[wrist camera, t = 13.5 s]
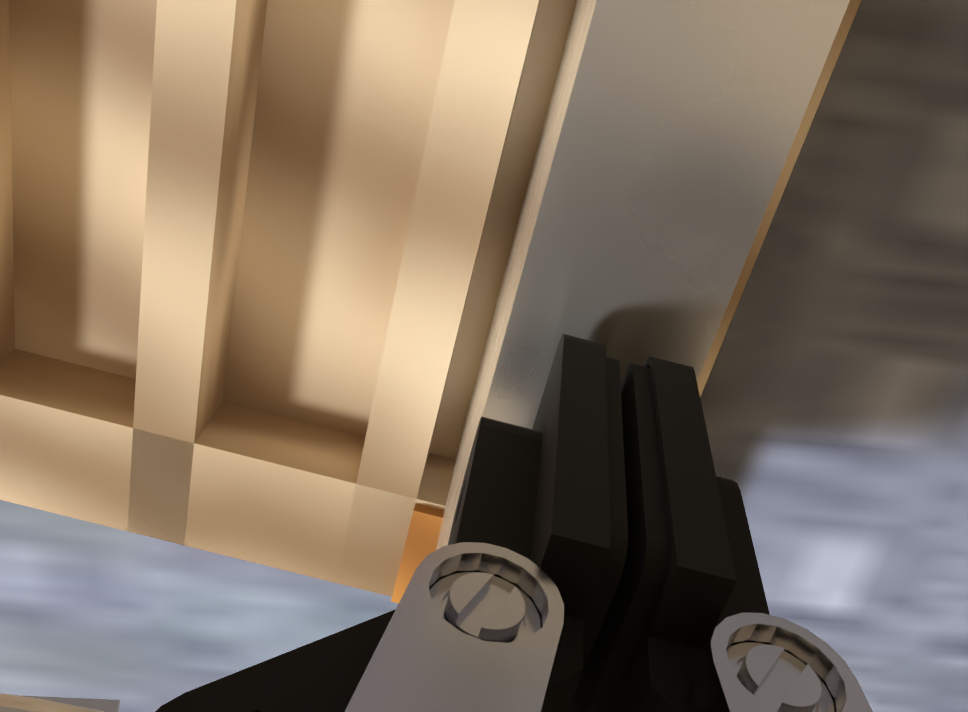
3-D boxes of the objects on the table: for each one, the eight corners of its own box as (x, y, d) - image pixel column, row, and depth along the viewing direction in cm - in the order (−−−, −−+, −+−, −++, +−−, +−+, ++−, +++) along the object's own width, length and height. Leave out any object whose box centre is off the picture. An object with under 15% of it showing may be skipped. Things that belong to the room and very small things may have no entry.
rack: (-56, -637, 16) (-201, -749, 13) (955, -362, 16) (1034, -411, 13) (-17, 417, 26) (-91, 485, 23) (597, 570, 27) (598, 656, 24)
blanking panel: (623, -177, 17) (655, -213, 9) (759, -141, 17) (918, -144, 9) (461, 436, 24) (392, 745, 15) (559, 460, 24) (542, 782, 16)
